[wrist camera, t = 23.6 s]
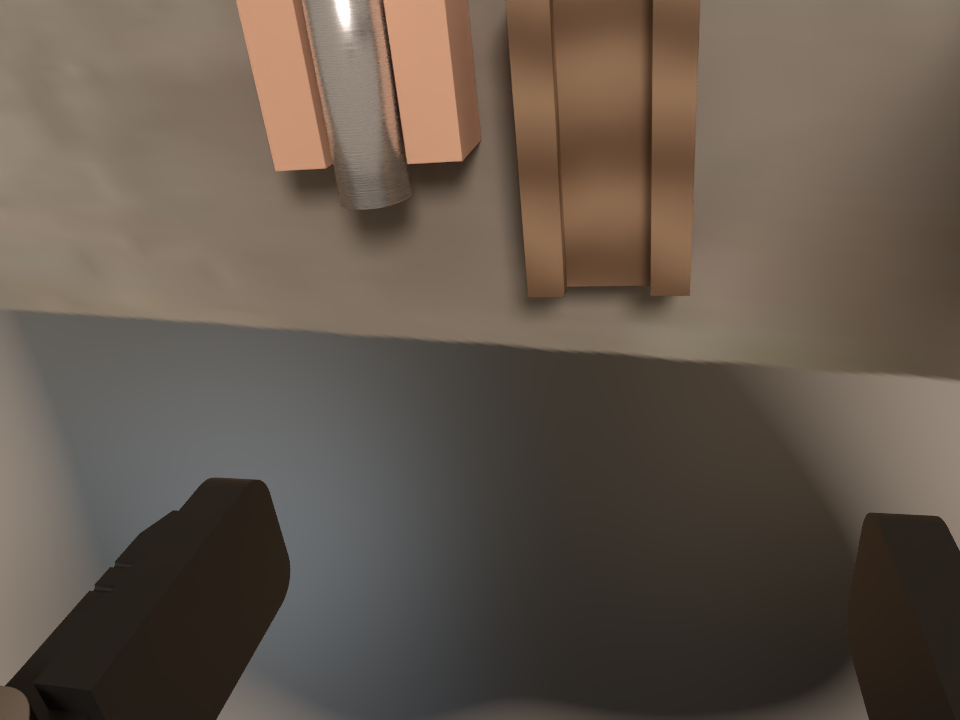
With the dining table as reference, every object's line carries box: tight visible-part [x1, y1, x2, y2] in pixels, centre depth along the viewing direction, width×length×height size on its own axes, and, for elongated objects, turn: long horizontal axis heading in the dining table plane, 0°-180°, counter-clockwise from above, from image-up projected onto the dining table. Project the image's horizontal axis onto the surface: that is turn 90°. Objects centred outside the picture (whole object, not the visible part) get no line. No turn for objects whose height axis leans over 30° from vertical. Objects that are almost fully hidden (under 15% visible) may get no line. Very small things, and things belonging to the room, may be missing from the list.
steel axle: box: [301, 0, 411, 210], centre depth 38 cm, size 16×4×4 cm, turn 6°
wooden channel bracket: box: [505, 0, 700, 297], centre depth 40 cm, size 16×9×5 cm, turn 6°
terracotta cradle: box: [236, 0, 481, 171], centre depth 41 cm, size 9×11×5 cm
